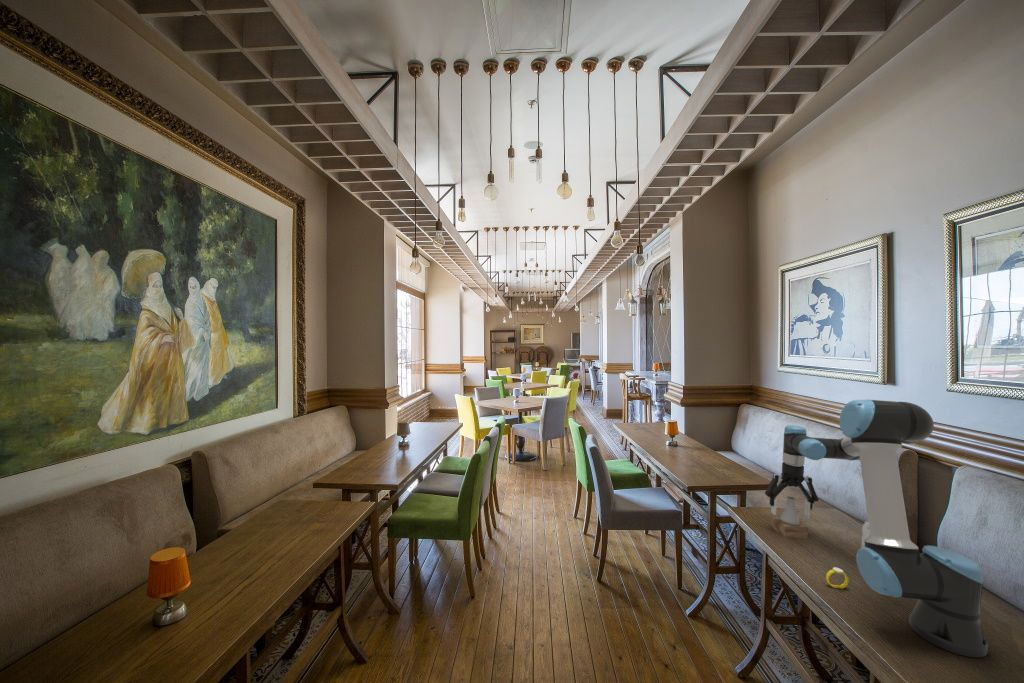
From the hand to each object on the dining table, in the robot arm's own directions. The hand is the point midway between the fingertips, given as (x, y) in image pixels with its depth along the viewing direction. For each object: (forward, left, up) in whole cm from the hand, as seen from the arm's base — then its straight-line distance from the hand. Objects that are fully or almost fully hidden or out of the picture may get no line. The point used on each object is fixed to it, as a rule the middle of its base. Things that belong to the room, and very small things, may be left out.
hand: (790, 515), depth 176 cm
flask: (0, 0, -3) cm, 3 cm away
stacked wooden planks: (0, 0, -8) cm, 8 cm away
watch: (-38, +2, -7) cm, 39 cm away
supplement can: (-21, -19, -7) cm, 29 cm away
